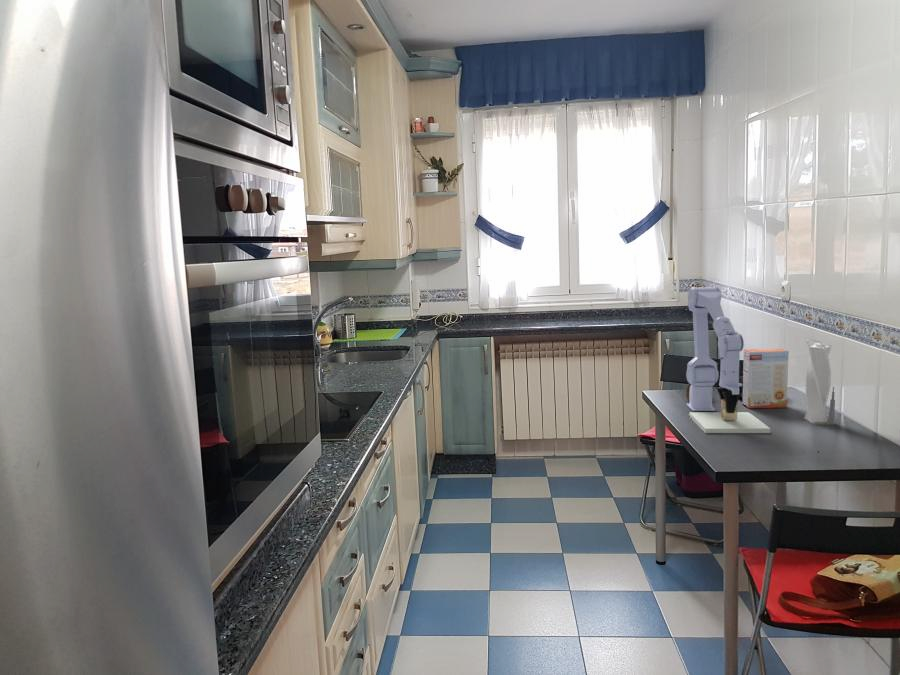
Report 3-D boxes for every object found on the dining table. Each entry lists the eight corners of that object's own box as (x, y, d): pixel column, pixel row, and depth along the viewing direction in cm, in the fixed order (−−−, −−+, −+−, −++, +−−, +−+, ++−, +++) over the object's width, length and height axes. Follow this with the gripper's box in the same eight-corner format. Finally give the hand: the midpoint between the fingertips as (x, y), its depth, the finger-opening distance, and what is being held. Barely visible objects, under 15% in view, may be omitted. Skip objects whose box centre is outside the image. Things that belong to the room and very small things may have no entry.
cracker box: (779, 403, 255) (782, 347, 252) (787, 408, 249) (789, 350, 246) (741, 404, 255) (743, 348, 252) (747, 408, 249) (750, 351, 246)
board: (689, 416, 241) (689, 412, 241) (748, 416, 239) (748, 412, 239) (705, 433, 221) (705, 428, 221) (770, 433, 220) (770, 428, 219)
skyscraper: (809, 425, 228) (814, 341, 224) (798, 419, 236) (802, 337, 232) (835, 425, 228) (840, 340, 223) (823, 418, 236) (827, 337, 231)
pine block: (720, 416, 232) (721, 399, 231) (733, 416, 232) (733, 399, 231) (724, 419, 228) (725, 401, 227) (736, 419, 228) (737, 402, 227)
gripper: (749, 375, 220) (748, 416, 222) (735, 366, 234) (733, 405, 236) (726, 375, 221) (725, 416, 223) (713, 366, 235) (712, 405, 237)
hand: (728, 410), depth 230 cm, fingers open, 4 cm apart
